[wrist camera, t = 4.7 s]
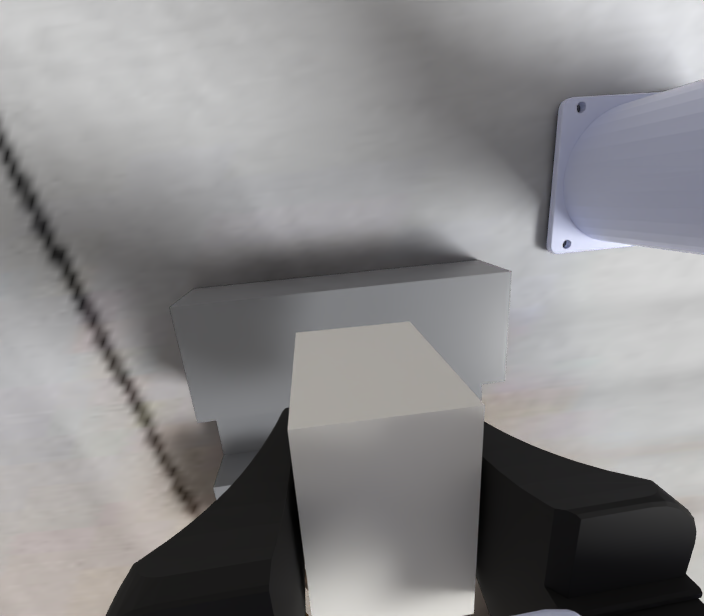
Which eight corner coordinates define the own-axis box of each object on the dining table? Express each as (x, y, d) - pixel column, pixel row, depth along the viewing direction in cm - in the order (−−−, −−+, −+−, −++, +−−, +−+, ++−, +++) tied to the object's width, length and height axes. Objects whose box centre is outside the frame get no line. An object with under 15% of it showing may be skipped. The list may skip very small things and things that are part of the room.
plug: (402, 313, 13) (484, 405, 7) (405, 446, 15) (473, 613, 9) (296, 323, 13) (287, 430, 7) (311, 459, 15) (315, 643, 8)
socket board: (478, 259, 20) (521, 274, 16) (471, 481, 25) (503, 535, 21) (193, 288, 19) (162, 312, 15) (243, 518, 24) (230, 584, 20)
